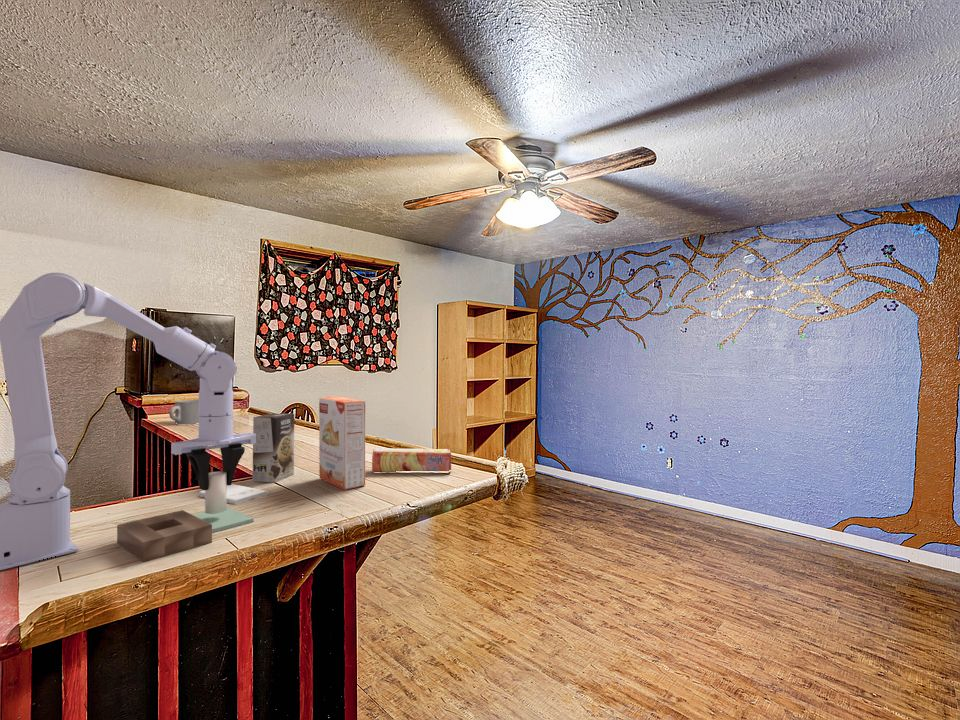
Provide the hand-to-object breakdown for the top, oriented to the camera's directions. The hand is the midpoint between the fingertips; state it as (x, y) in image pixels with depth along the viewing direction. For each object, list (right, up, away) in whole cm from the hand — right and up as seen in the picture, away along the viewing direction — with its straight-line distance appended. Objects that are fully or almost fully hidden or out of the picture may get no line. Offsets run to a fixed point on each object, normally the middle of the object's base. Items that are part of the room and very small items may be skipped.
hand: (215, 486), depth 93 cm
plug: (0, -5, 0) cm, 5 cm away
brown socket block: (-3, -7, -10) cm, 13 cm away
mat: (0, -7, 0) cm, 7 cm away
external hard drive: (-5, -7, +17) cm, 19 cm away
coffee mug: (-79, -4, +121) cm, 145 cm away
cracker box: (+16, -7, +28) cm, 33 cm away
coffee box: (-3, -6, +33) cm, 33 cm away
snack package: (+32, -7, +40) cm, 52 cm away
